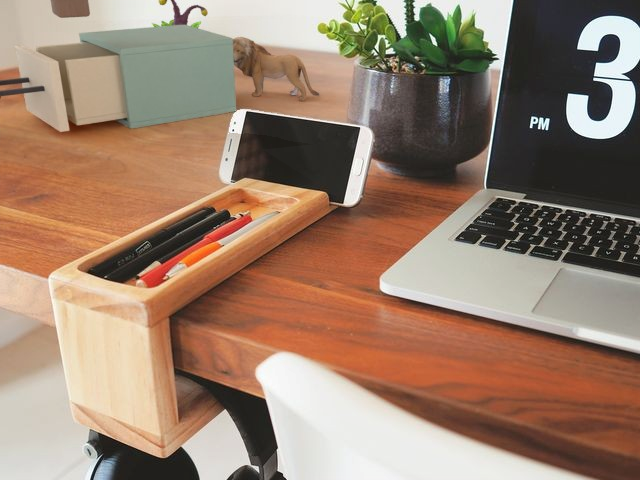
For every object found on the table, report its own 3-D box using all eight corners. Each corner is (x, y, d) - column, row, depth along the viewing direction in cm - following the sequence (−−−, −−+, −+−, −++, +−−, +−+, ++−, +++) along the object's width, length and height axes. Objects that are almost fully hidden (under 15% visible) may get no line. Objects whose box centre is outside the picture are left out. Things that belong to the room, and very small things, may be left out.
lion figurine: (226, 97, 116) (223, 38, 112) (236, 89, 120) (233, 33, 116) (316, 102, 114) (316, 43, 110) (322, 94, 119) (322, 38, 115)
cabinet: (130, 129, 98) (120, 48, 93) (89, 106, 108) (78, 32, 103) (236, 111, 108) (232, 38, 103) (190, 92, 118) (184, 24, 113)
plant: (122, 47, 151) (115, -10, 145) (214, 43, 158) (211, -12, 153) (138, 66, 135) (130, 2, 129) (240, 60, 142) (236, 0, 137)
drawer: (5, 140, 89) (-10, 68, 85) (-25, 117, 98) (-40, 50, 94) (171, 114, 102) (165, 50, 98) (131, 95, 111) (124, 36, 107)
